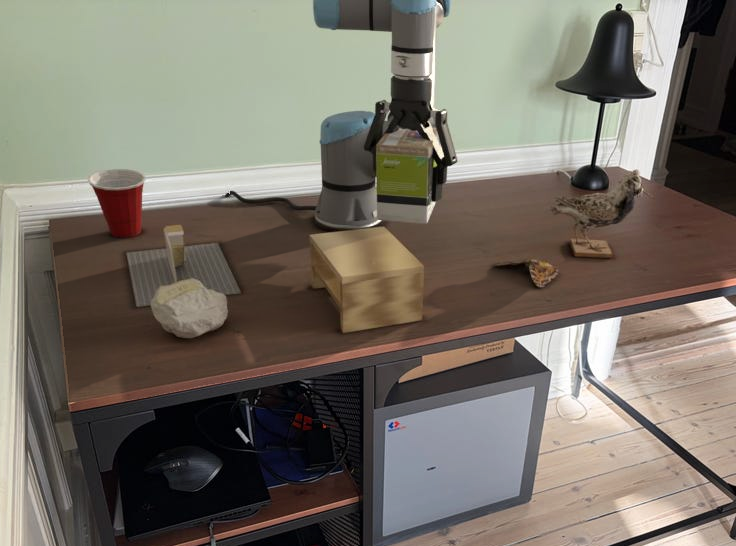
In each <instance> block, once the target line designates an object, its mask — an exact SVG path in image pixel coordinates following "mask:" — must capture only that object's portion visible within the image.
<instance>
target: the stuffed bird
mask: <svg viewBox="0 0 736 546" xmlns="http://www.w3.org/2000/svg"><path fill="white" fill-rule="evenodd" d="M640 176H641V171H640V170H639V169H637V168H636V169H633V170H627V171H626V172H624V174H623V176H622V178H620V180H618V184H617V185H616V186H615V187H614V188H613V189H611V191H609V192H608V193H603V192H596V193H589V194H584V195H581V196H577V197H567V196H559V197H557V196H553V199H554V201H555V202H557V203H558V204H556V205H555V206H554V207H552V206H549V208H548V210H549V211H551V213H552V214H553V215H554V216H556V215H559V214H560V215H566V216H568V217H570V218H572V219H573V220H574V221H575V224H574V225H573V227H572V228H573V232H574V235H575V236H574V237H575V238H570V241H569V244H570V247H571V250H572V253H573V257H581V258H597V259H598V258H599V259H611V258H613V253H612V250H611V248H610V246H609V244H608V242H607V240H605V239H604V240H602V239H589V238H588V236H587V233H588V232H591V230H590V229H595V228H602V227H607V226H610V225H617V224H619V223H621V222H622V221H624V220H625V219H626V217H627V216H628V215H629V214H631V212H633V210H634V208H635V204H636V199H635V197H636V196H637V198H638V197H639V198H641V197H642V196H643V194H645V195H647V196H649V197H650V198H652V199H653V196H652V194H650V193H649V192H647V191H646V190H644V187H643V183H642V178H641V177H640ZM577 226H581V228H580V229H579V231H580V233H581V234H582V235H583V236H584V238H585V239H583V238H578V234H577V233H578V232H577Z"/></svg>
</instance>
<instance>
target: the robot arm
mask: <svg viewBox="0 0 736 546" xmlns="http://www.w3.org/2000/svg"><path fill="white" fill-rule="evenodd" d="M312 9H313V10H312V11H313V21H314V24H315V25H316V27H317V28H319V29H324V30H325V29H326V30H331V31H336V30H338V31H339V30H341V31H368V32H369V31H370V32H383V33H384V32H387V33H391V47H390V54H391V55H390V73H391V75H392V77H391V78H390V98H391V100H390V102H388V101H387V100H386V99H382V100H379V101H375V105H374V112H373V111H370V110H369V111H367V110H351V111H345V112H339V113H335V114H332V115H329V116H327V117H325V119H323V120H322V121H321V124H320V132H319V133H320V134H319V135H320V137H319V144H320V161H321V162H320V164H321V165H320V166H321V190H320V193H319V197H318V200H317V204H316V205H296V204H294V203H293V201H291V200H289V199H288V198H286V197H281V196H280V197H278V196H277V197H276V196H274V197H264V198H257V199H256V198H255V199H253V198H252V199H251V198H250V199H249V198H245V197H243V196H241V195H240V194H239V193H238V192H236V191H235V190H229V191H230V194H229V193H227V192H226V193H225V195H224V197H225V198H226V197H227V198H229V197H231V196H233V197H235V198H236V199H237V200H238V201H240V202H241V203H244V204H249V205H258V204H264V203H273V202H281V203H285V204H287V205H288V206H289V207H290V208H291V209H293V210H295V211H314V223H315V224H316V226H318V227H319V228H320V229H323V230H326V231H329V232H339V231H348V230H357V229H367V228H376V227H382V226H383V224H384V222H385V221H381V220H378V219H377V180H376V145H377V144H378V142H379V141H380V139H381V138H382V137H383V135H384V134H385V133H394V132H396V131H398V130H399V128H401V129H410V130H412V131H418V133H419V135H421V136H422V138H423V139H426V140H430V141H432V140H433V159H434V160H435V162H436V164H437V166H435V167H433V186H432V202H436V203H437V202H438V201H440V200H441V199H442V197H443V185H445V184H446V182H447V180H448V178H447V177H448V167H451V166H453V165H455V164H457V163H458V156H457V153H456V149H455V146H454V142H453V139H452V135H451V132H450V131H451V130H450V127H449V124H448V110H447V109H445V108H442V109H435V103H436V102H435V99H436V98H435V97H436V66H437V65H436V63H437V62H436V61H437V34H438V33H437V32H438V31H437V29H438V28H439V27H440V26H441V25H442V23H443V21H444V18H447V17H449V15H450V12H451V0H312ZM386 118H387V120H386ZM424 127H425V128H424ZM432 127H436V129H437V133H438V136H439V142H438V140H437V138H436V136H435V134H434V132H433V128H432Z"/></svg>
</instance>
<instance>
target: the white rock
mask: <svg viewBox="0 0 736 546" xmlns="http://www.w3.org/2000/svg"><path fill="white" fill-rule="evenodd" d="M227 298H228V297H227V295H224V294H223V293H218V292H215V291H214V290H211V289H206V288H205V287H204V286H203V284H202V283H201V282H200V281H199V280H195V279H194V278H191V279H186V280H182V281H179V282H176V283H173V284H171V285H169V286H161V287H159V288H158V289H157V290H156V293H155V296H154V298H153V299H152V301H151V303H150V305H149V306H150V308H151V311H152V314H153V316H154V318H155V320H156V321H157V322H159V323H160V325H161V327H162V329H163V330H164V331H166V332H167V333H171V334H174V335H175V336H176V337H178V338H183V339H194V338H196V337H199V336H202V335H203V334H206V333H208V332H212V331H213V332H214V331H215V330H218V329H219V328H221V327H222V326H223V325H224V322H225V321H226V320H227V319H228V314H229V310H228V300H227Z"/></svg>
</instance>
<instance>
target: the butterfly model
mask: <svg viewBox="0 0 736 546" xmlns="http://www.w3.org/2000/svg"><path fill="white" fill-rule="evenodd" d="M522 263H523V264H524V263H525V268H527V269H528V273H530V277H531V279H532V281H533V283H534V284H535V286H536V287H537V288H544V287H545V285H547V284H549V283H551V279H552V280H553V279H555V278H556V276H557V275H559V273H560V271H559V270H558V267H557V266H554V265H552V264H550V263H549V262H548V261H546V262H545V261H543V262H542V261H541V260H540V259H535V258H526V259H525V260H521V261H513V262H508V263H507V262H505V263H497V264H496V266H506V265H512V264H513V265H516V264H522Z"/></svg>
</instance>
